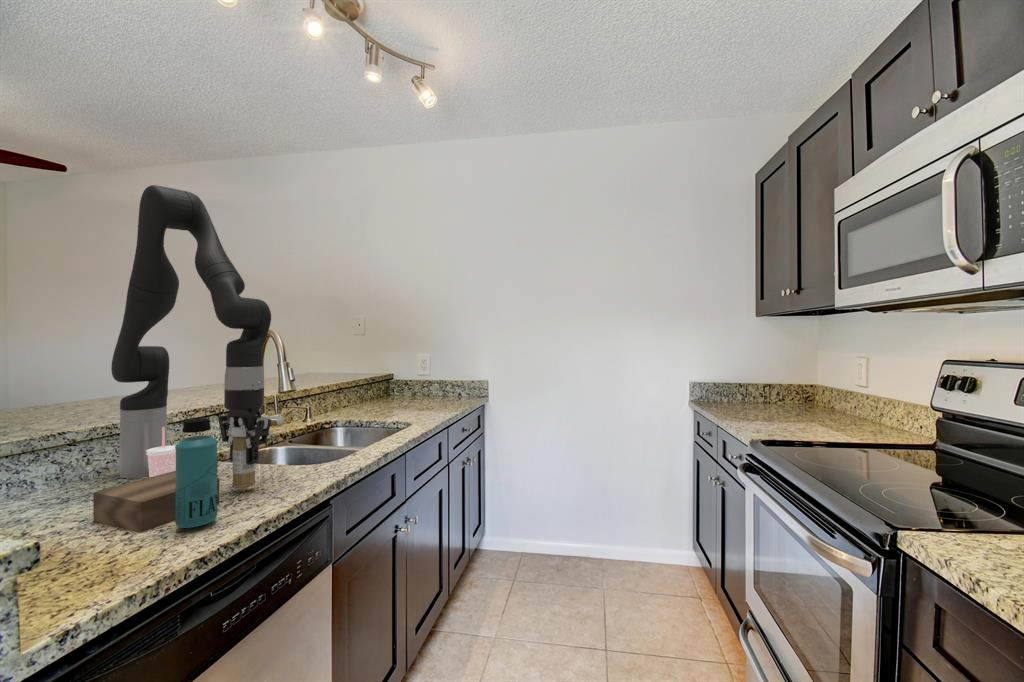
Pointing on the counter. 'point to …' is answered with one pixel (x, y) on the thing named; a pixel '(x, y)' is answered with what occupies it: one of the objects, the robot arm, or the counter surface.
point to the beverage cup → (161, 458)
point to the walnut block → (138, 503)
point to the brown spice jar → (241, 461)
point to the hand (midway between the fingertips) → (244, 462)
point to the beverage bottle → (196, 476)
